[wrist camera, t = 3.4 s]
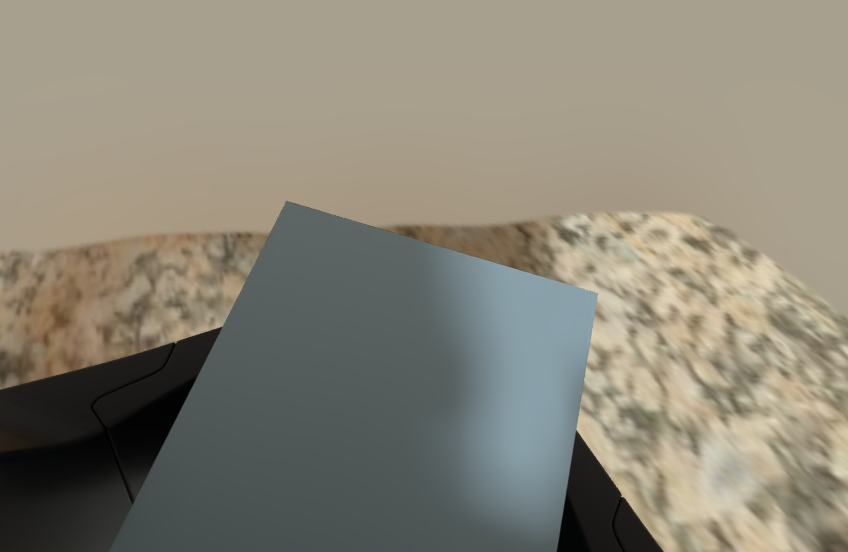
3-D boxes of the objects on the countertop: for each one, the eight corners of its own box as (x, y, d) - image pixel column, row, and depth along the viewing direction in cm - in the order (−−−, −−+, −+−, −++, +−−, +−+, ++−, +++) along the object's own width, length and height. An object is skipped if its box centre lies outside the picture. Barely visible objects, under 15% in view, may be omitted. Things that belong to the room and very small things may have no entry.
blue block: (445, 468, 14) (527, 741, 3) (336, 429, 14) (102, 564, 4) (476, 352, 15) (597, 293, 5) (375, 320, 16) (286, 200, 5)
